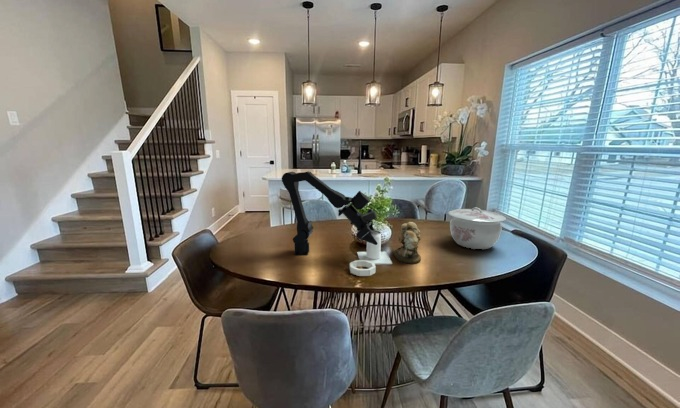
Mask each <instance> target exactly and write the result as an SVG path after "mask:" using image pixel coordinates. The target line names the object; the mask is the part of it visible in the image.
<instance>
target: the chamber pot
mask: <svg viewBox="0 0 680 408" xmlns="http://www.w3.org/2000/svg"><path fill="white" fill-rule="evenodd" d="M447 214H448V215H449V216H451V217H452V218H451V220H450V222H449V228H450V234H451V237H452V238H453V240H454V242H455V243H456V244H457V245H459V246H461V247H464V248H465V247H466V248H465V249H469V248H471V249H470V250H475V249H482V250H488V249H491V248H492V247H493V246H495V245H496V243H497V242H498V241H499V239H500V238H501V237H500V236H501V234H502V230H503V227H502V224H501V223H502V222H504V221H507V218H506V216H504V215H502V214H501V213H498V212H495V211H494V212H493V211H490V210H485V209H481V208H479V207H477V206H475V207H472V208H457V209H452V210H449V211H448V212H447Z"/></svg>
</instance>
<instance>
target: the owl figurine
mask: <svg viewBox="0 0 680 408" xmlns="http://www.w3.org/2000/svg"><path fill="white" fill-rule="evenodd" d="M397 240H398V242H399V243H400V244H402V245H401V247H399V248H397V249H395V250H394V252H393V256H394V257H395V259H396V260H398V261H399V262H400V263H405V264H407V265H410V264H411V265H416V264H419V263H421V260H422V257H421V255H420V254H419V253H418V252H419V251H418V248H419V243H420V241H421V240H422V238H421V230H420V229H419V228H418V225H417V224H416V223H415V222H413V221H408V222H407V223H406V222H405V223H402V224H401V226H400V231H399V232H398V234H397Z"/></svg>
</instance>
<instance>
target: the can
mask: <svg viewBox="0 0 680 408" xmlns="http://www.w3.org/2000/svg"><path fill="white" fill-rule="evenodd" d="M371 234H372V236H373V237H374V239H375V240H376V242H377V243H378V244H377V245H374V244H372V243H369V242H367V241H366V251H365V252H366V256H367V258H369V259H379V258H380V254H381V252H382V251H381V249H382V247H381V246H382V234H381V231H379V230H375V231H371Z"/></svg>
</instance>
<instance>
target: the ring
mask: <svg viewBox="0 0 680 408" xmlns="http://www.w3.org/2000/svg"><path fill="white" fill-rule="evenodd" d="M358 267H359V268H358ZM360 267H362V268H360ZM363 267H364V268H363ZM376 268H377V266H376V265H375V264H374V263H373V262H370V261H367V260H359V259H357V260H356V259H355V260H354V261H351V262H349V272H350V274H352V275H356V276H357V277H358V276H359V277H369V276H370V277H371V276H372V275H374V274H376V271H377V269H376Z"/></svg>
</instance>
